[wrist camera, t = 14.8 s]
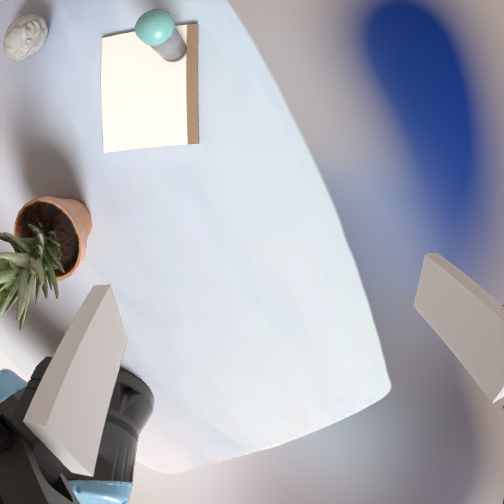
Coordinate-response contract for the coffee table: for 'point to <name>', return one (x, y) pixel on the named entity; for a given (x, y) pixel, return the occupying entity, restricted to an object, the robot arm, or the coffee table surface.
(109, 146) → the notepad
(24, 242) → the potted plant
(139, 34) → the marker
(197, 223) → the coffee table surface
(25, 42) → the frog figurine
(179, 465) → the coffee table surface
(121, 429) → the robot arm
